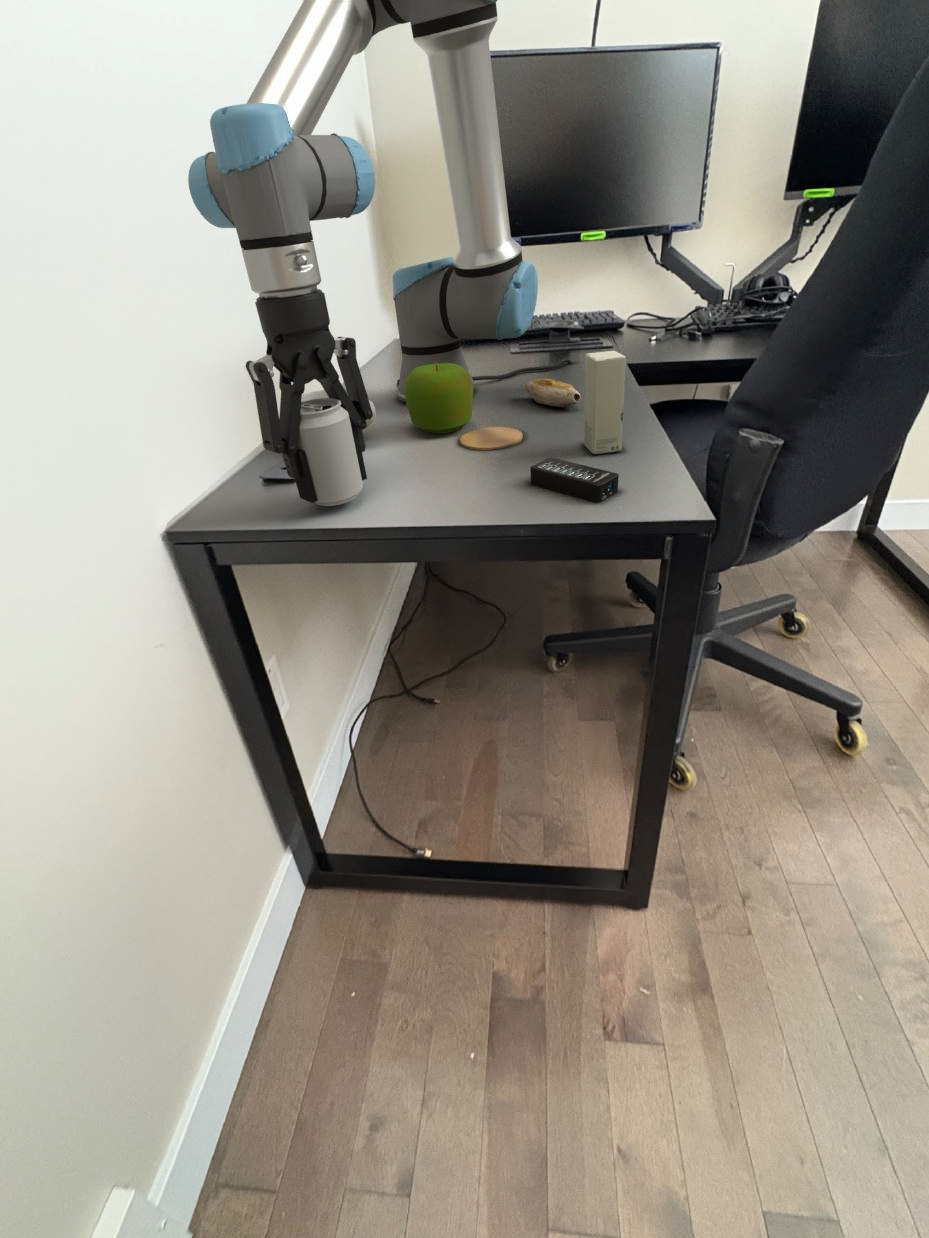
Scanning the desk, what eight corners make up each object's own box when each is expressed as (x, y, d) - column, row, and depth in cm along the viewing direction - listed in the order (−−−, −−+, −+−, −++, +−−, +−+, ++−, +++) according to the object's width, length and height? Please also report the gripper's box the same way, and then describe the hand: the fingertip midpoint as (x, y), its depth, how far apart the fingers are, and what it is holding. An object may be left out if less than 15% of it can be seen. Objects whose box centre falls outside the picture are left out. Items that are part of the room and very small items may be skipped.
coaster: (488, 425, 101) (488, 423, 101) (535, 435, 95) (535, 432, 95) (447, 443, 96) (447, 440, 96) (494, 454, 90) (494, 451, 90)
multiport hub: (550, 473, 82) (550, 456, 81) (619, 491, 75) (620, 473, 74) (529, 483, 80) (528, 466, 78) (598, 503, 73) (599, 485, 71)
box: (622, 452, 86) (628, 356, 79) (592, 456, 86) (595, 360, 78) (610, 440, 90) (615, 349, 83) (582, 444, 90) (584, 352, 83)
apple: (397, 435, 102) (387, 367, 95) (436, 416, 109) (428, 352, 102) (450, 442, 96) (443, 371, 90) (487, 422, 103) (483, 355, 97)
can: (352, 509, 75) (331, 412, 68) (298, 508, 77) (272, 414, 70) (372, 484, 81) (354, 393, 74) (321, 484, 83) (299, 396, 76)
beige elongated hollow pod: (540, 393, 115) (539, 369, 112) (587, 409, 104) (588, 383, 102) (517, 399, 113) (516, 375, 110) (563, 416, 102) (563, 389, 100)
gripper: (219, 310, 57) (283, 525, 71) (381, 277, 69) (410, 468, 82) (185, 307, 62) (251, 510, 75) (342, 276, 73) (375, 457, 86)
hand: (334, 488), depth 78 cm, fingers closed on can, 7 cm apart
